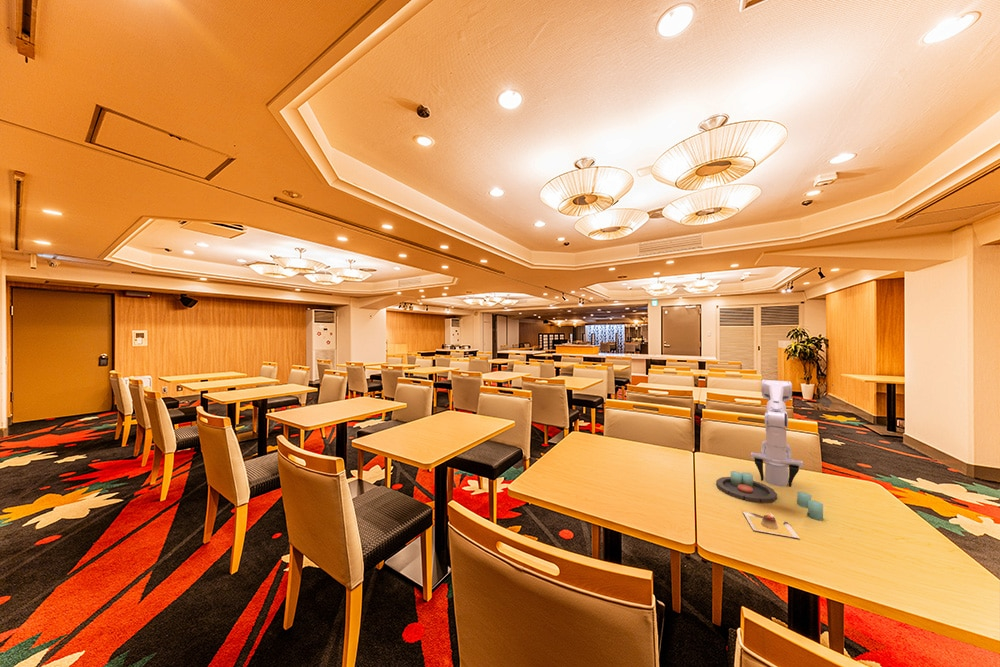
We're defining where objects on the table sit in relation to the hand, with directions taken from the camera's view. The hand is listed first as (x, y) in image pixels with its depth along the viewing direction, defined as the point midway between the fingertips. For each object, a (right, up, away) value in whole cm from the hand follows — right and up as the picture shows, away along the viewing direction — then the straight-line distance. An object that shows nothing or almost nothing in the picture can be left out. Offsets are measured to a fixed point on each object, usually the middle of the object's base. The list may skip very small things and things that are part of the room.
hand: (775, 482), depth 123 cm
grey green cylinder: (+10, -10, -5) cm, 15 cm away
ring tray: (-2, -10, +12) cm, 16 cm away
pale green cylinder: (+1, -9, +16) cm, 18 cm away
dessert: (-10, -11, -10) cm, 18 cm away
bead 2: (+11, -10, +1) cm, 15 cm away
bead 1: (-2, -9, +17) cm, 20 cm away
